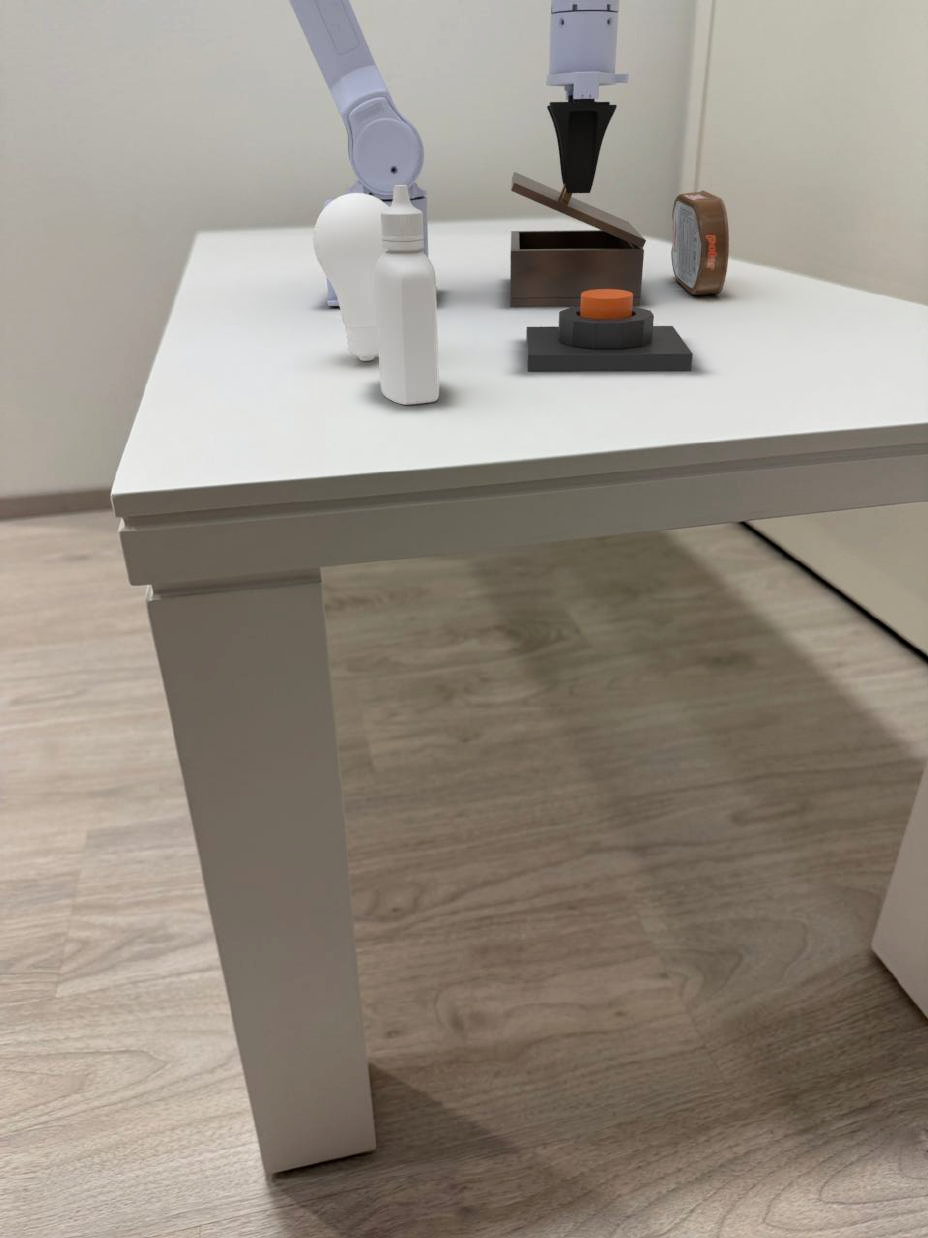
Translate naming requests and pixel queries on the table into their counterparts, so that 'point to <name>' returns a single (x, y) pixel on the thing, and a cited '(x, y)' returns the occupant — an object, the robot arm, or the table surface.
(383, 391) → the eye dropper bottle
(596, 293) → the button
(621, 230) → the lid
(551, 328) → the switch block
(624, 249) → the box
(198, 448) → the table surface
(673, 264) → the tin
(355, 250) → the lightbulb
